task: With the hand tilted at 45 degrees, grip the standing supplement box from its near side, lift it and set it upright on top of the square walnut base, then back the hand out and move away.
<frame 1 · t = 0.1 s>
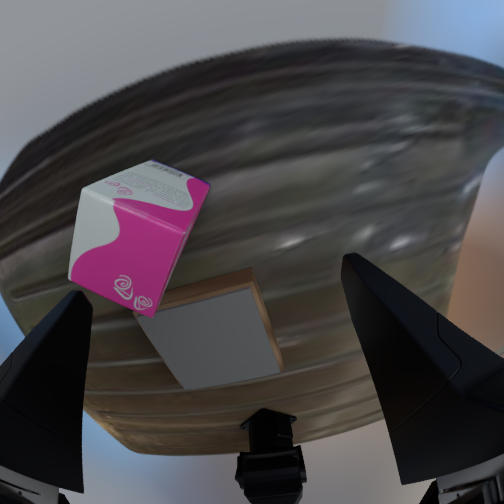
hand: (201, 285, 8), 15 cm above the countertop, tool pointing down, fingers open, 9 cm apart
supplement box: (169, 201, 23), on the countertop
walnut base: (213, 330, 28), on the countertop
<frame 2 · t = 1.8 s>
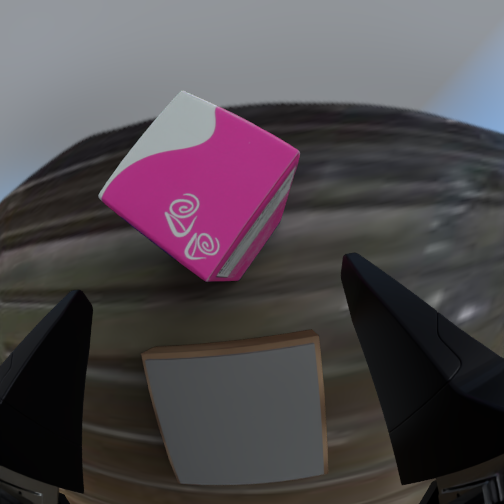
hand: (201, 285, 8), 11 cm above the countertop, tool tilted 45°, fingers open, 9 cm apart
supplement box: (229, 230, 21), on the countertop
walnut base: (241, 412, 19), on the countertop
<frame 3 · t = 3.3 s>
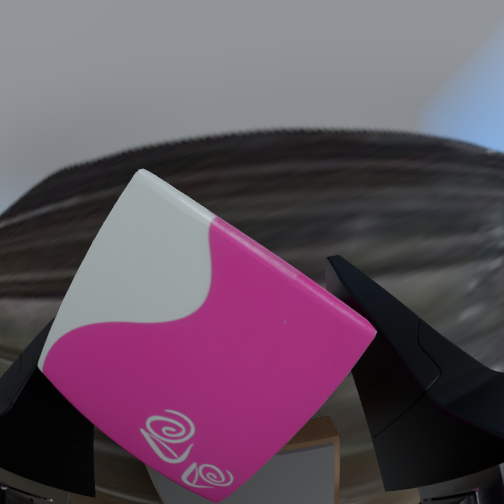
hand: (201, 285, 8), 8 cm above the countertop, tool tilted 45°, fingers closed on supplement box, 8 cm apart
supplement box: (233, 308, 16), on the countertop, touching gripper
walnut base: (250, 488, 14), on the countertop
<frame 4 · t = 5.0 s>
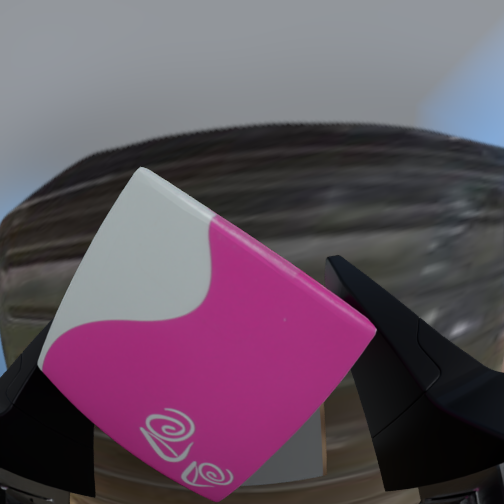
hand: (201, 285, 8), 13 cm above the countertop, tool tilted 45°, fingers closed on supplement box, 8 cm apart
supplement box: (233, 307, 16), point 5 cm above the countertop, touching gripper
walnut base: (248, 420, 20), on the countertop
when the fingers open (12 cm above the countertop, at t = 6.7 s): supplement box drops 1 cm, resting on walnut base.
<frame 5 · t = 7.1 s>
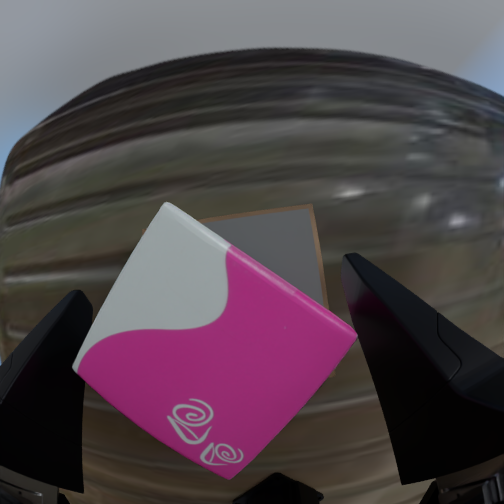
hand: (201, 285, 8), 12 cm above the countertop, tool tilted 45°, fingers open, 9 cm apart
supplement box: (237, 309, 17), point 3 cm above the countertop, touching walnut base
walnut base: (239, 302, 20), on the countertop
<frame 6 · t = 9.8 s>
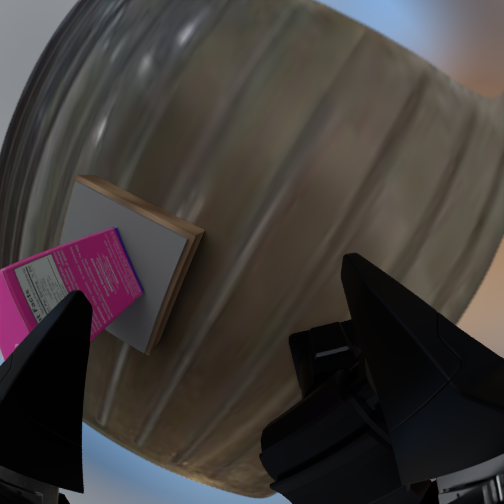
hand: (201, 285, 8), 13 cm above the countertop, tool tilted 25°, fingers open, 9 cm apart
supplement box: (108, 270, 20), point 3 cm above the countertop, touching walnut base
walnut base: (122, 261, 23), on the countertop
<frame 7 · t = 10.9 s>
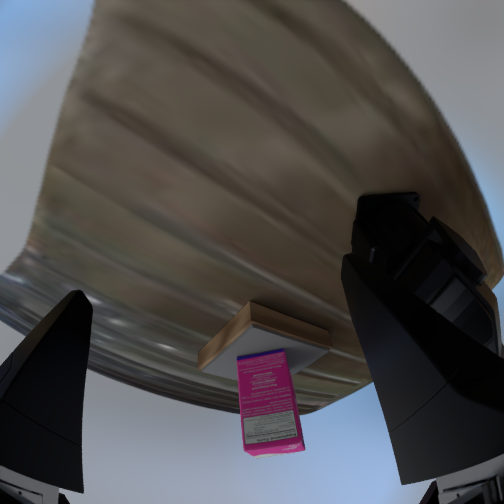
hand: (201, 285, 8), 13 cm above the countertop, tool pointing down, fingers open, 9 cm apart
supplement box: (264, 361, 31), point 3 cm above the countertop, touching walnut base
walnut base: (262, 343, 33), on the countertop
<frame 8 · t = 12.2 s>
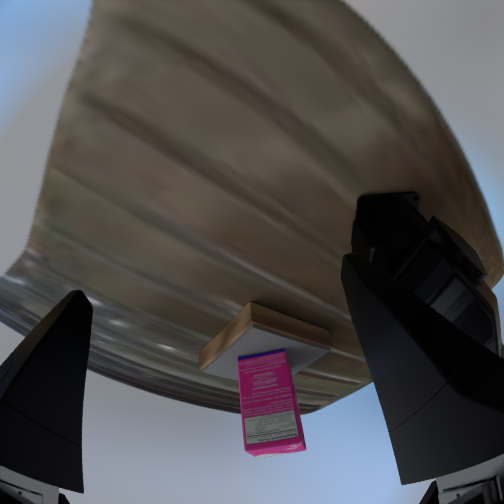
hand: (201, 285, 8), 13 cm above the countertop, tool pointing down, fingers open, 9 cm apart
supplement box: (265, 361, 31), point 3 cm above the countertop, touching walnut base
walnut base: (262, 343, 33), on the countertop
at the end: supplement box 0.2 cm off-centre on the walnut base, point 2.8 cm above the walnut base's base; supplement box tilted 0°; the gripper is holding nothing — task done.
